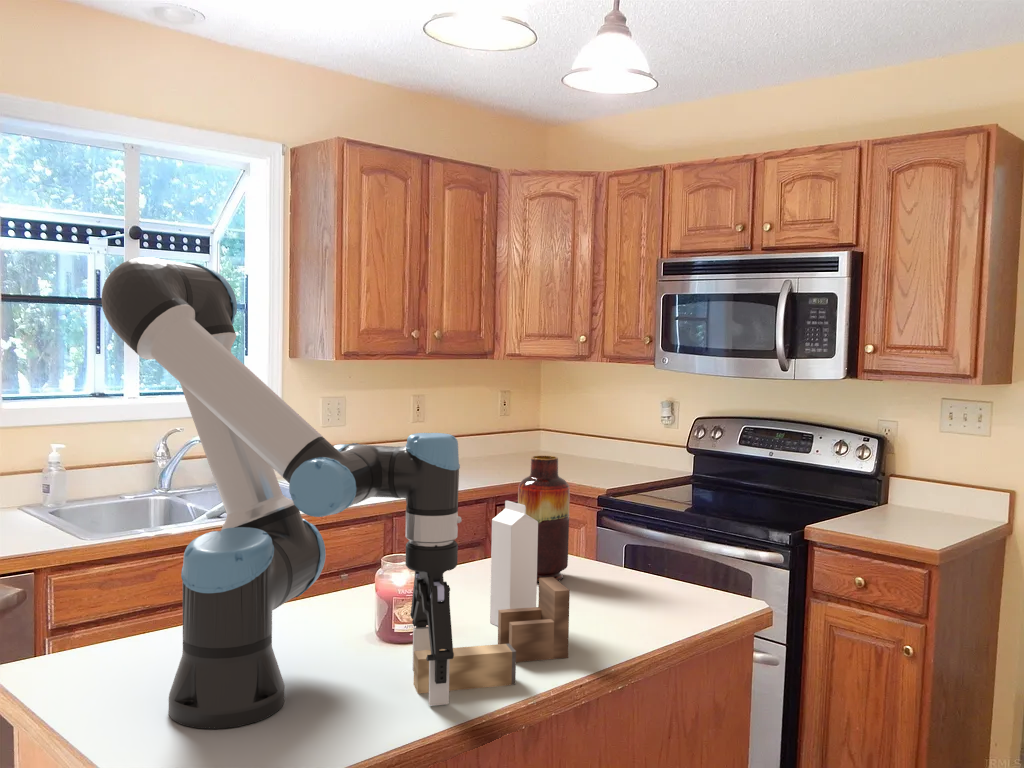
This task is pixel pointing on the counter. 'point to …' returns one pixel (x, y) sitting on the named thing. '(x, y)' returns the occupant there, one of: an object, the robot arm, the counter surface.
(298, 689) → the counter surface
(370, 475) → the robot arm
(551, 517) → the vase
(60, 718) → the counter surface
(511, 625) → the brown wooden blocks
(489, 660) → the wooden block
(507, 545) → the milk
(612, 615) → the counter surface
